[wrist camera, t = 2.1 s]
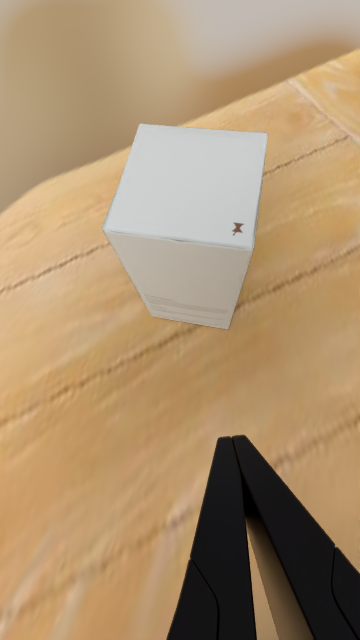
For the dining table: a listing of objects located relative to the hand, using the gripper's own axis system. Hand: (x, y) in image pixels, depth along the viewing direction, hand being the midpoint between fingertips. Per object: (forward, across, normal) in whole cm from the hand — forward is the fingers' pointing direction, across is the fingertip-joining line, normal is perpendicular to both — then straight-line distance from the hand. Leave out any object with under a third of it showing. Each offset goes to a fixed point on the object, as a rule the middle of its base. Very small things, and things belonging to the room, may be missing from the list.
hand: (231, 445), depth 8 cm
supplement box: (+18, 0, +1) cm, 18 cm away
